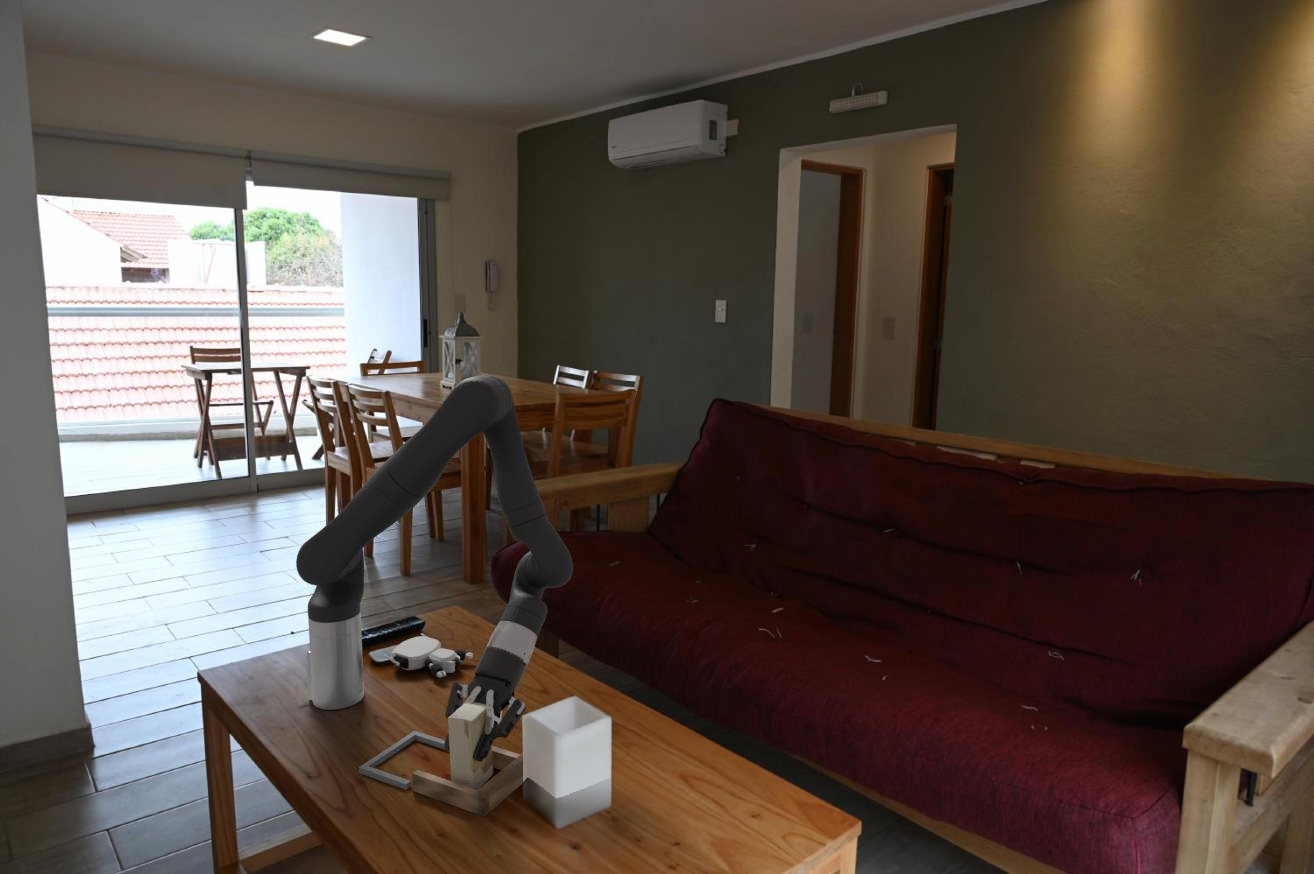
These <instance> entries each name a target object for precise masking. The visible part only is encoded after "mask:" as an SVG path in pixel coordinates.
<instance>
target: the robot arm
mask: <svg viewBox="0 0 1314 874" xmlns="http://www.w3.org/2000/svg"><path fill="white" fill-rule="evenodd" d="M511 390H512V389H511V388H510V386H509V385H508V384H507V382H506V381H504V380H503V378H500V377H498V376H496V375H494V374H493V375H492V374H481V375H476V376H470V377H468V378H464V379H463V380H461V381H459V382H458V383H457V384H456V385H455V386H454V387H453V388H452V389H451V391H450V392H449V394H447V396H446V397H445V399H444V400H443V401H442V403H441V404H440V405H439V407H438V408H437V409H436V410H435V412H434V413H433V414H432V416H431V417H430V418H429V419H428V421H427V422H426V423H425V424H424V425H423V426H422V427H421V428H420V429H419V430H418V431H416V432H415V433H414V434H413V435H412V436H411V437H410V438H408V439H407V440H406V441H405V442H404V443H403V444H402V445H401V446H400V447H399V448H398V449H397V450H396V451H394V453H393V454H392V455H390V457H388V459H386V460H385V462H384V463H382V465H380V467H379V468H378V469H376V471H375V472H374V473H373V474H372V475H371V477H369V478H368V480H367V481H366V482H365V483H364V484H363V485H362V486H361V488H360V489H359V490H358V491H357V492H356V493H355V494H354V496H353V497H352V498H351V499H350V500H349V502H348V503H347V505H345V507H344V508H343V509H342V510H341V511H340V512H339V514H337V515H336V516H335V517H334V518H333V519H332V520H331V521H329V523H327V524H326V525H325V526H323V527H322V528H321V529H320V530H319V531H318V532H317V533H315V534H314V535H313V536H311V537H310V538H308V539H307V540H306V541H304V543H303V544H302V545H301V546H300V548H299V550H298V552H297V555H296V562H295V563H296V566H295V568H296V571H297V573H298V576H299V577H300V579H302V580H303V581H304V582H305V583H306V584H308V585H312V586H316V587H315V589H314V592H313V593H312V595H311V597H310V598H309V600H308V602H307V618H308V636H309V637H308V638H309V639H308V640H309V651H307V653H306V669H307V671H306V672H307V686H308V687H307V689H308V700H310V701H312V705H314V707H316V708H318V709H321V710H327V711H329V710H330V711H332V710H341V709H346V708H348V707H351V706H354V705H356V704H358V703H359V702H361V701H362V700H363V699H364V696H365V689H364V688H365V685H364V664H363V663H364V662H363V661H364V659H363V641H362V639H363V637H362V617H361V602H362V599H363V597H364V590H365V558H364V557H365V555H364V547H366V546H367V545H368V543H370V542H372V540H374V539H375V538H376V537H377V536H378V535H380V534H382V533H383V532H384V531H386V530H387V529H389V528H390V527H391V526H393V525H394V524H396V523H397V522H398V521H399V520H401V519H402V518H403V517H404V516H405V515H406V514H408V513H409V512H410V511H412V510H413V508H415V507H416V506H417V505H418V504H419V503H420V502H421V501H422V500H423V499H424V498H425V497H426V496H427V495H428V494H429V493H430V492H431V490H432V489H433V488H434V486H435V485H437V483H438V481H440V478H441V477H442V475H443V473H444V471H445V469H446V468H447V465H448V464H449V462H450V461H451V460H452V458H453V457H454V456H455V455H456V454H457V453H458V452H459V451H460V450H461V449H462V448H463V447H464V446H465V445H467V444H468V443H469V442H470V441H472V440H473V438H475V437H476V436H478V435H479V434H480V433H482V434H483V437H484V438H485V440H486V442H487V445H488V447H489V451H490V454H491V455H490V456H491V458H492V462H493V468H494V469H493V470H494V477H495V487H496V488H495V489H496V494H497V497H498V501H499V502H498V503H499V505H500V508H501V511H502V513H503V516H504V519H505V521H506V523H507V527H508V530H509V531H510V534H511V537H512V538H513V539H514V540H515V541H517V542H521V543H523V544H525V545H526V547H527V548H528V549H529V551H528V552H527V553H525V554H524V555H523V557H521V559H520V560H519V562H518V564H517V566H516V569H515V571H514V575H513V579H512V584H511V589H510V596H509V601H508V603H507V604H506V607H505V608H504V611H503V613H502V615H501V618H500V620H499V622H498V624H497V626H496V627H495V629H494V631H493V632H492V634H491V636H490V638H489V640H488V643H487V645H486V647H485V649H484V651H483V653H482V655H481V658H480V660H479V662H478V664H477V666H476V669H475V674H474V678H473V679H472V680H471V681H469V682H468V684H460V683H459V682H457V681H454V682H453V683H452V686H451V689H450V693H449V697H448V701H447V705H446V709H445V714H444V717H445V718H446V719H447V720H448V717H449V716H451V715H452V714H453V713H454V712H455V711H456V710H457V709H458V708H460V707H461V706H462V705H464V704H466V703H468V704H472V703H474V702H476V703H481V704H485V705H486V711H485V720H486V723H485V734H482V735H481V737H480V740H479V742H478V744H477V747H476V749H475V751H474V753H473V758H474V759H475V760H477V761H480V762H482V761H483V759H485V758H486V757H487V755H488V753H489V751H490V748H491V746H493V744H494V742H495V740H496V739H497V738H503V739H507V738H508V737H509V735H510V734H511V733H512V731H513V729H514V728H515V727H516V725H517V724H518V722H519V721H520V719H521V718H522V716H523V715H524V713H526V712H525V711H526V710H527V705H526V703H524V702H523V700H521V699H519V698H516V697H515V692H516V689H518V687H519V685H520V683H521V680H522V678H523V676H524V673H525V671H526V669H527V667H528V665H529V662H530V660H531V658H532V656H533V652H534V650H535V646H536V642H537V639H538V637H539V635H540V632H541V630H542V627H543V625H544V623H545V621H546V619H547V615H548V607H547V604H546V603H545V601H544V600H543V595H544V593H545V590H546V589H554V588H555V589H556V588H560V587H563V586H565V585H566V584H568V582H569V581H570V580H571V578H572V575H573V572H574V568H573V567H574V565H573V564H574V563H573V559H572V555H571V552H570V551H569V549H568V547H567V545H566V544H565V542H564V541H563V539H562V538H561V537H560V534H559V533H558V531H557V530H556V529H555V527H554V526H553V525H552V523H551V522H550V520H549V517H548V515H547V512H546V509H545V506H544V504H543V501H542V499H541V495H540V493H539V490H538V488H537V485H536V482H535V480H534V477H533V474H532V470H531V468H530V465H529V461H528V457H527V454H526V450H525V447H524V443H523V439H522V436H521V430H520V426H519V421H518V415H517V411H516V405H515V401H514V396H513V393H512V391H511ZM467 696H468V697H467ZM464 699H466V700H464ZM506 708H507V709H508V710H507V711H506V712H505V714H504V716H503V711H504V709H506ZM444 745H445V749H446V750H445V751H447V752H449V753H450V747H449V732H448V733H447V736H446V738H445V743H444Z"/></svg>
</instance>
